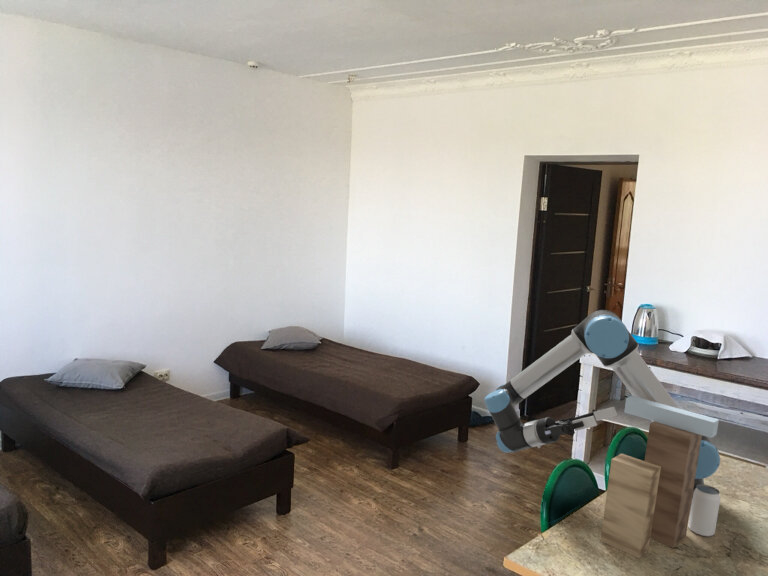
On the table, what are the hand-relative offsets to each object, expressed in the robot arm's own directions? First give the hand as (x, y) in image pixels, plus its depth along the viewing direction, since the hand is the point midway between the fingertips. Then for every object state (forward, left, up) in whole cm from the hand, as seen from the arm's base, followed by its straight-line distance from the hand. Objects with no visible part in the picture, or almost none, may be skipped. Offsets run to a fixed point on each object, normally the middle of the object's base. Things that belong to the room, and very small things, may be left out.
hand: (605, 415), depth 174 cm
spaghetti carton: (0, +17, +3) cm, 17 cm away
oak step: (+14, +15, -27) cm, 34 cm away
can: (-11, +26, -27) cm, 39 cm away
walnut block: (0, +19, -27) cm, 33 cm away
